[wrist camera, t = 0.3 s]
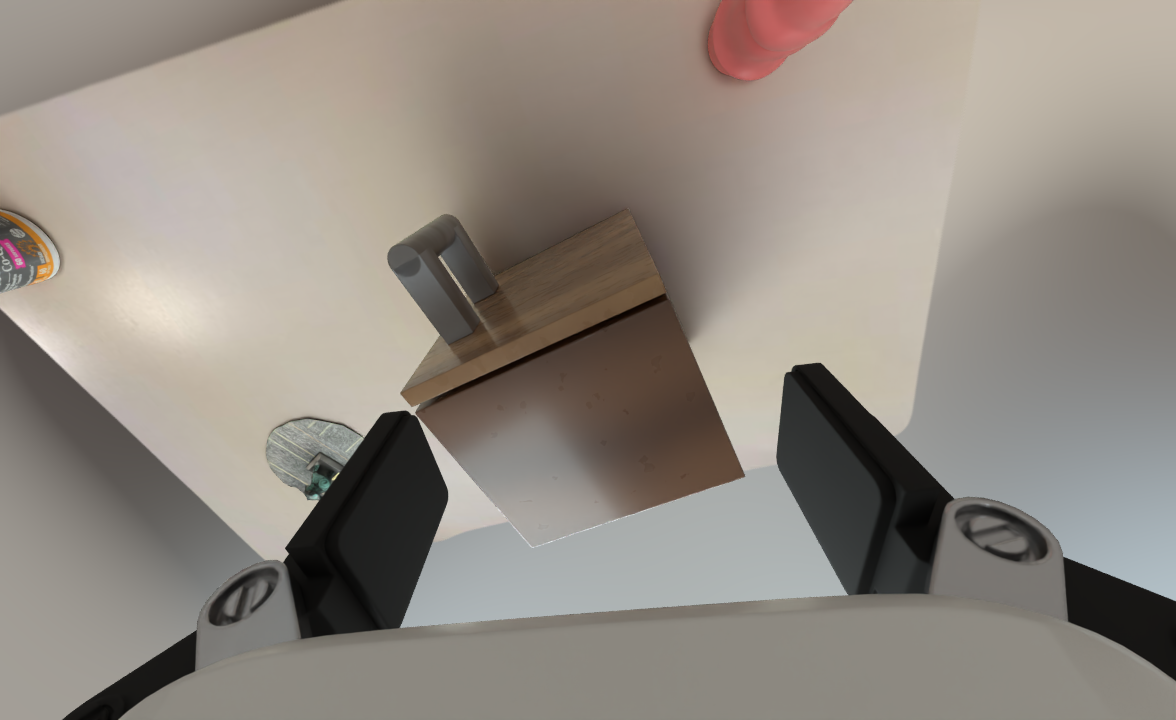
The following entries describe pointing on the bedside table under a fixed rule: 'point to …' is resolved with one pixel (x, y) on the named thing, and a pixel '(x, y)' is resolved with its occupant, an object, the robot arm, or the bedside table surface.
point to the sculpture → (310, 454)
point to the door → (515, 296)
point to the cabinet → (589, 427)
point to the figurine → (766, 33)
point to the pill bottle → (24, 253)
